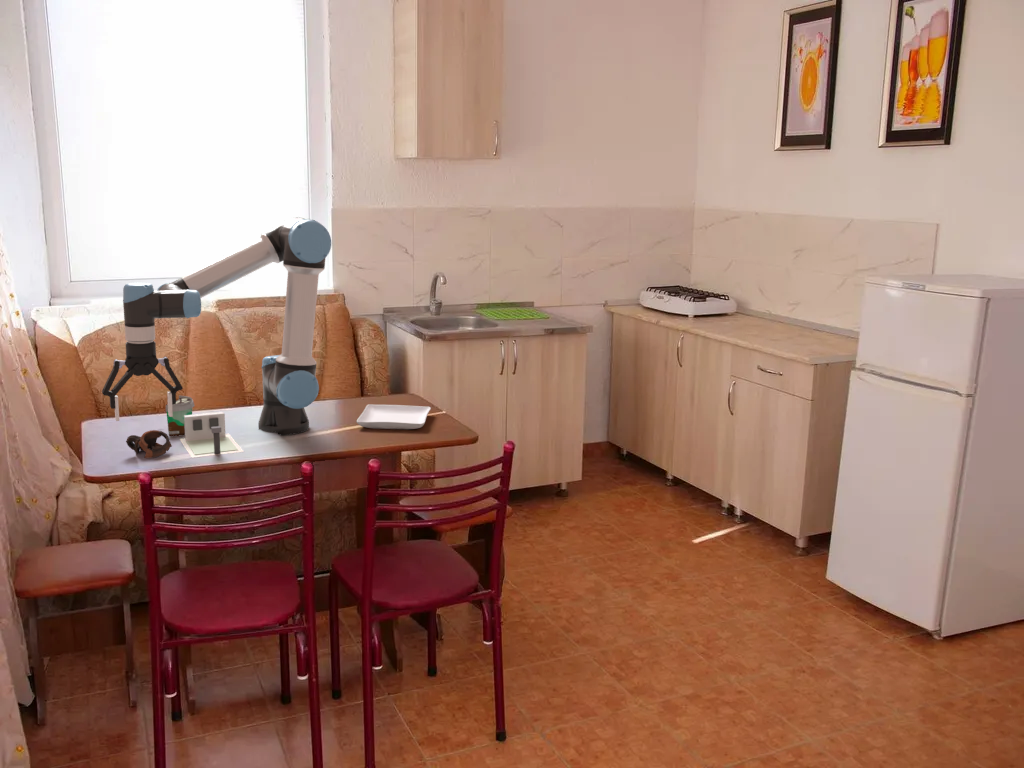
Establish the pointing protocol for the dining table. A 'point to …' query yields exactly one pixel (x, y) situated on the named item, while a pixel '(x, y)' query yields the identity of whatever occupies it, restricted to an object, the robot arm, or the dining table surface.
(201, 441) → the stand
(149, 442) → the pottery mug
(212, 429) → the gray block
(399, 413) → the salad plate
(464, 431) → the dining table surface
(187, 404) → the food container
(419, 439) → the dining table surface
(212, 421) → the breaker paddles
